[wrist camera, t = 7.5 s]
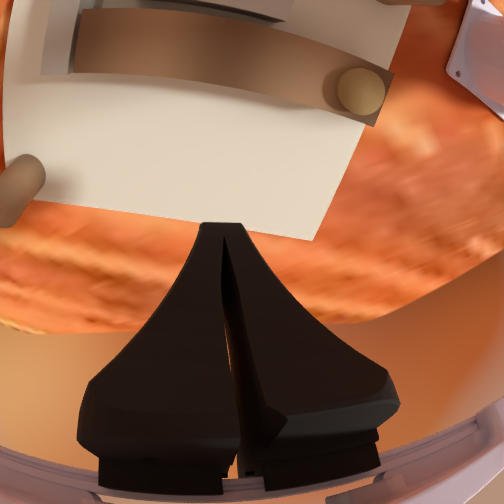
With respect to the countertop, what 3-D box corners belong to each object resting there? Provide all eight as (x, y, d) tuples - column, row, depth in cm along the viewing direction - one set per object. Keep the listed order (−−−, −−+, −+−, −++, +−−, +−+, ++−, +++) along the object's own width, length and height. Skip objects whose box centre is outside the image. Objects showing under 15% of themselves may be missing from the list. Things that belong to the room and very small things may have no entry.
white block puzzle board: (408, -22, 11) (465, -25, 7) (307, 228, 23) (328, 281, 19) (55, -86, 5) (12, -106, 1) (18, 186, 17) (-18, 232, 13)
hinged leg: (367, 64, 14) (400, 75, 11) (350, 110, 16) (379, 131, 13) (104, 11, 10) (77, 8, 8) (95, 64, 12) (67, 75, 9)
